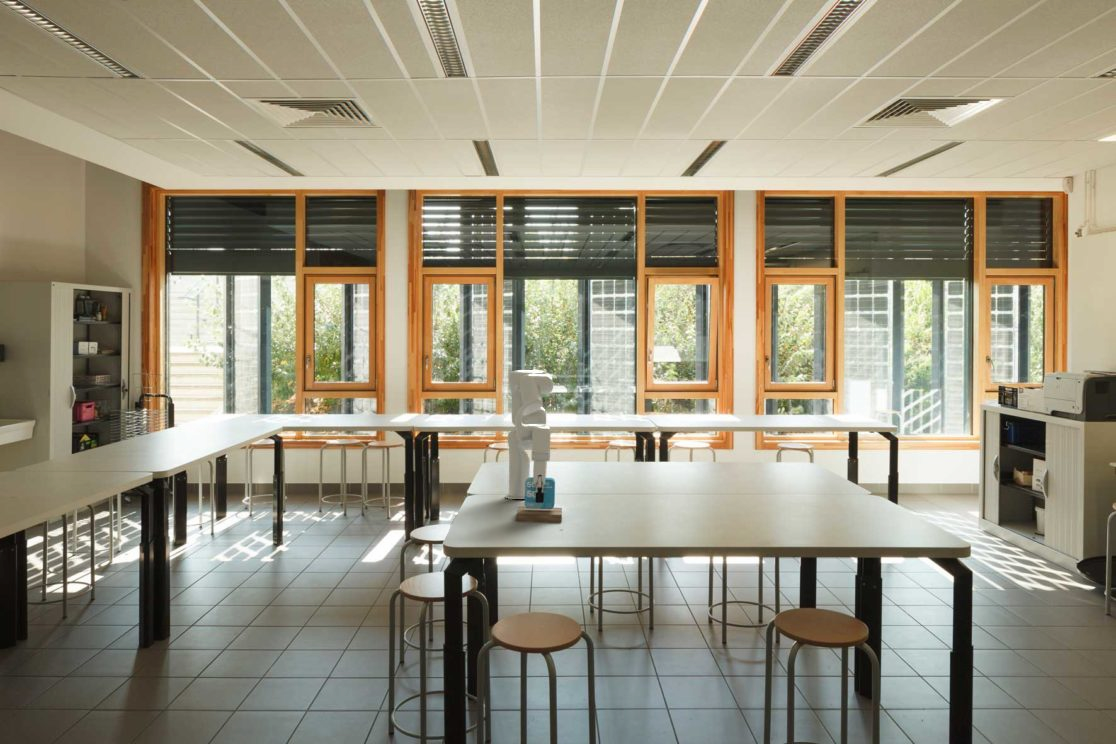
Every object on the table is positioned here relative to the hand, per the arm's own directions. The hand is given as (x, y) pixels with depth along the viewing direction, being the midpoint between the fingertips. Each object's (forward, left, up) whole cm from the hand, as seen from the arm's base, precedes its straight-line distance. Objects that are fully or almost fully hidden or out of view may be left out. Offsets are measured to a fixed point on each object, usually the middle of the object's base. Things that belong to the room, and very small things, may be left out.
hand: (539, 500), depth 309 cm
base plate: (0, 0, -7) cm, 7 cm away
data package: (0, 0, -3) cm, 3 cm away
